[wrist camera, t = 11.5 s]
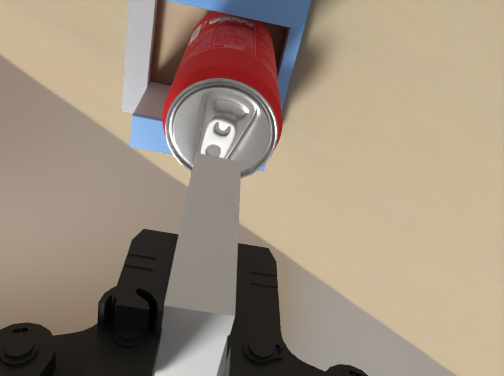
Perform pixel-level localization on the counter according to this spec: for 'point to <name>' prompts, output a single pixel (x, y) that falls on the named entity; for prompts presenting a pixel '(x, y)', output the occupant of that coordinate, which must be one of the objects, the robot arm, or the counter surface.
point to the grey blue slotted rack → (154, 94)
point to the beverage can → (225, 94)
